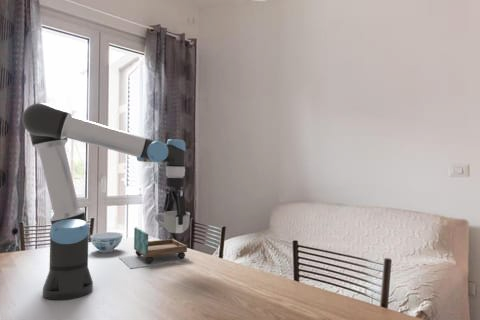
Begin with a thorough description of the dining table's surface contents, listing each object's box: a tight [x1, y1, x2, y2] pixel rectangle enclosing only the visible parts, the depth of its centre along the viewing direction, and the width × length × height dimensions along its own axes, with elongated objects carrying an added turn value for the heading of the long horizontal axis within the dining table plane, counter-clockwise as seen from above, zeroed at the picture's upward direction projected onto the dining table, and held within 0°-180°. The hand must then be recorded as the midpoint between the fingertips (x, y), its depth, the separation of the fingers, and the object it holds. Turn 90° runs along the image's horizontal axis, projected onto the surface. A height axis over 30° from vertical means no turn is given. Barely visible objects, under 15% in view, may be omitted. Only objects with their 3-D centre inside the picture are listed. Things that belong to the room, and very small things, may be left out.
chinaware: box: [89, 231, 123, 253], centre depth 173 cm, size 15×15×8 cm
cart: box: [133, 226, 188, 263], centre depth 161 cm, size 17×19×13 cm
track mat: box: [118, 253, 189, 270], centre depth 160 cm, size 19×26×1 cm
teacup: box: [155, 210, 191, 234], centre depth 146 cm, size 14×11×8 cm
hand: (173, 230), depth 145 cm, fingers closed on teacup, 11 cm apart
